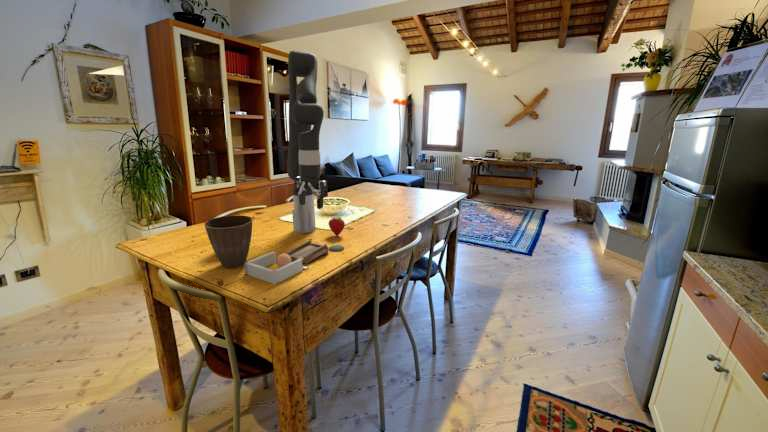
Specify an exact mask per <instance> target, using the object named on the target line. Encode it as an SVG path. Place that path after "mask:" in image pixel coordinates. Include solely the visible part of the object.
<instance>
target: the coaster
mask: <svg viewBox="0 0 768 432" xmlns="http://www.w3.org/2000/svg"><path fill="white" fill-rule="evenodd" d="M344 249H345V246H343V245H341V244H335V245H334V244H333V245H330V246H328V251H331V252H336V253H337V252H341V251H343V250H344Z"/></svg>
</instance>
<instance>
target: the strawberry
mask: <svg viewBox="0 0 768 432" xmlns="http://www.w3.org/2000/svg"><path fill="white" fill-rule="evenodd" d="M338 215H339V214H337V217H336V216H333V217H332V218H331V219H329V221H328V226H329V228H330V230H331V232H333V234H334V235H335V236H339V235H340V234H341V233H342V232H343V230H344V229H345V225H346V224H345V221H344V219H343V218H342V217H341V216H338Z"/></svg>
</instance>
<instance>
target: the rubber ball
mask: <svg viewBox="0 0 768 432" xmlns="http://www.w3.org/2000/svg"><path fill="white" fill-rule="evenodd" d="M291 262H292V259H291V257H290V256H289V255H288V254H287V253H280V254H279V255H278V256H276V263H275V264H276V265H277V266H278V267H279V268H281V267H283V266H285V265H287V264H289V263H291Z"/></svg>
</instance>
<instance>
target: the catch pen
mask: <svg viewBox="0 0 768 432" xmlns="http://www.w3.org/2000/svg"><path fill="white" fill-rule="evenodd" d="M276 259H277V254H276V251H270V252H268V253H265V254H263V255H261V256H258V257H256V258H253V259H251V260H248V261H246V262H245V263H244V265H243V266H244V272H245V273H244V274H245V275H247V276H249V277H253V278H255V279H259V280H261V281H265V282H267V283H269V284H273V285H277V284H278V283H281V282H283V281H284V280H287V279H289V278H290V277H292V276H294V275H295V276H296V275H297V274H299V273H301V272H302V271H303V270H304V268H302V266H303V263H302V259H298V260H296V261H295V260H292V261H291V263H289V264H287V265H285V266H283V267H281V268H280V267H279V268H277V269H271V268H268V267H270V266H271V265H274V264H277V263H276Z"/></svg>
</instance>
